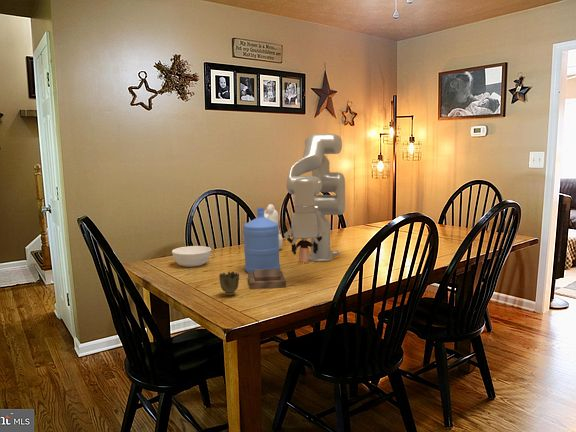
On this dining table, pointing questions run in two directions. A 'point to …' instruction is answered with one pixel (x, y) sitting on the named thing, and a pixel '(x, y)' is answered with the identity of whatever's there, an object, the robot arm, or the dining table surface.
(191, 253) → the bowl
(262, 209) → the water jug
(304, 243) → the grandmother figurine
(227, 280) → the cup
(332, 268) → the dining table surface
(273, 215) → the decorative rooster
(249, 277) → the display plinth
